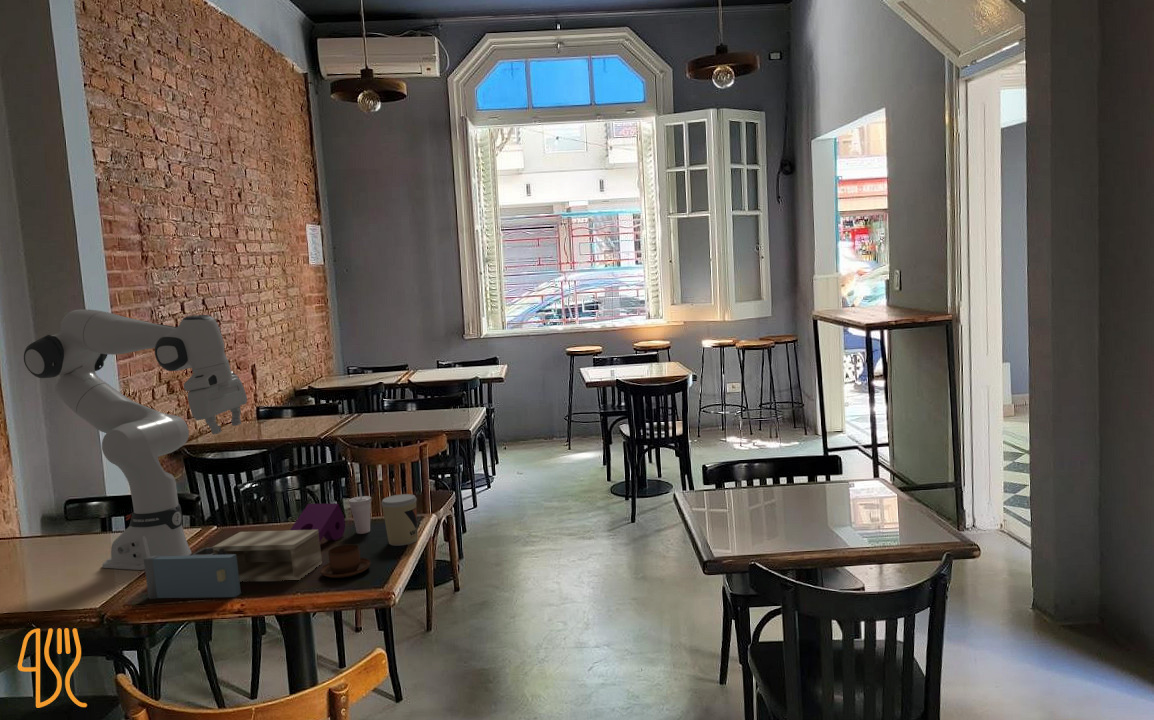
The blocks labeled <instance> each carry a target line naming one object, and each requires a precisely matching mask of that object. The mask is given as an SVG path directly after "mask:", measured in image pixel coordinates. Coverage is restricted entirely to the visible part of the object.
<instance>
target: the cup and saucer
mask: <svg viewBox="0 0 1154 720" xmlns="http://www.w3.org/2000/svg"><path fill="white" fill-rule="evenodd" d="M327 553H328V563H326V564H324V565H323V566H322V567H321V568H320V569H319V571H320V573H321V575H322V576H323V577H325V578H326V577H327V578H331V579H343V578H348V577H354V576H356V575H359V574H361V573H363V572H365V571H366V570H367V569H368V568H369V567H370V566H371V560H370V559H368V558H365V557H361V553H360V546H359V545H358V544H355V543H354V544H353V543H352V544H351V543H350V544H341V545H337V546H334V547H332V548H330V549H329V550H328V551H327Z"/></svg>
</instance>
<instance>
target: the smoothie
mask: <svg viewBox="0 0 1154 720" xmlns="http://www.w3.org/2000/svg"><path fill="white" fill-rule="evenodd" d="M358 490H359V496H355V497H352V498H350V499H349V500H348V505H349V506H350V510H351V514H352V517H353V522H354V526H355V530H356V534H359V535H362V534H367V533H371V507H372V505H371V502H372V496H369V495H363V493H362V484H361V483H359V484H358Z"/></svg>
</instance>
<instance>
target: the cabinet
mask: <svg viewBox="0 0 1154 720" xmlns="http://www.w3.org/2000/svg"><path fill="white" fill-rule="evenodd" d="M321 550H322V549H321V541H319V532H318V530H291V529H289V530H261V531H260V530H258V531H257V530H254V531H239V532H238V533H236V534H234V535H231V536H230V537H228V538H226V539H224V540H222V541H221V542H219V543H217V544H215V545H213V546H212V547H210V546H209V547H203V548H201V549H199V550H197V551H195V552H193V553H191V554H190V555H230V554H236V558H237V566H238V574H239V582H242V581H243V582H244V583H245V582H249V581H250V582H284V580H299V581H300V580H302V579H303V578H304V577H306V576H308V573H309V574H310V573H311V572H312V571H314V570H315V568H316V567H317V568H319V567H320V566H321V565H323V559H322V551H321ZM319 565H320V566H319ZM317 568H316V569H317ZM305 575H306V576H305ZM301 578H302V579H301ZM282 580H283V581H282ZM243 582H242V583H243Z"/></svg>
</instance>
